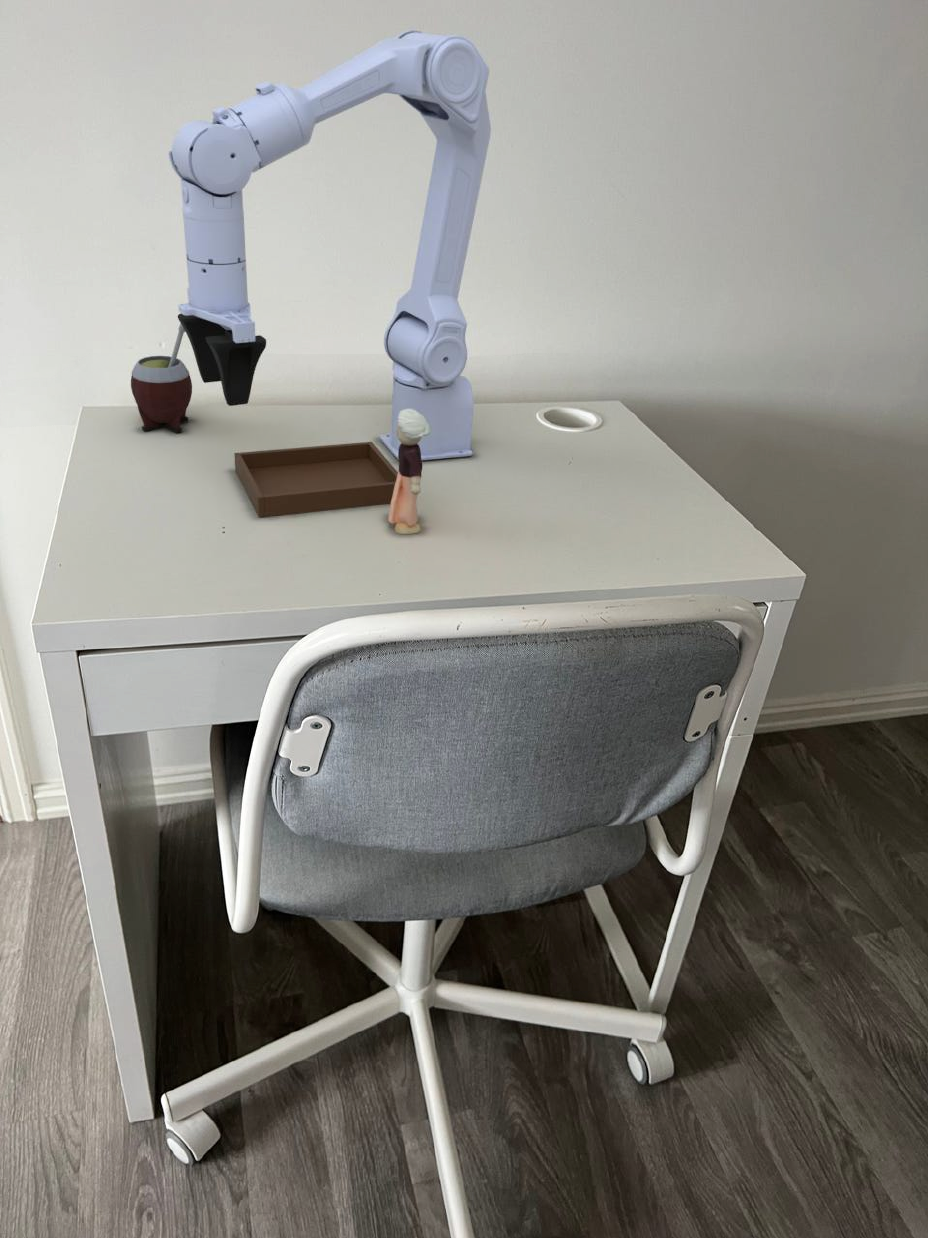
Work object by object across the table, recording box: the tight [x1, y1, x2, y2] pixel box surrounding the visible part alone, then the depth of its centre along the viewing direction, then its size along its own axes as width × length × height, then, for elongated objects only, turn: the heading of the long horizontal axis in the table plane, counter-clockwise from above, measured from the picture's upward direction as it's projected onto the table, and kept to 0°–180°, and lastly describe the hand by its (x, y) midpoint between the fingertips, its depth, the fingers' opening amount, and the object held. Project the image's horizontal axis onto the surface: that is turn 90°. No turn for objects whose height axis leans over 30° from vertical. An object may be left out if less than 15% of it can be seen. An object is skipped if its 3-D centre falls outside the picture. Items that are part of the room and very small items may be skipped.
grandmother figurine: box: [387, 409, 430, 535], centre depth 98 cm, size 8×4×13 cm, turn 21°
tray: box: [233, 441, 398, 518], centre depth 108 cm, size 16×12×2 cm
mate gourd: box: [130, 322, 193, 434], centre depth 117 cm, size 8×8×15 cm
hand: (224, 392), depth 103 cm, fingers open, 7 cm apart
